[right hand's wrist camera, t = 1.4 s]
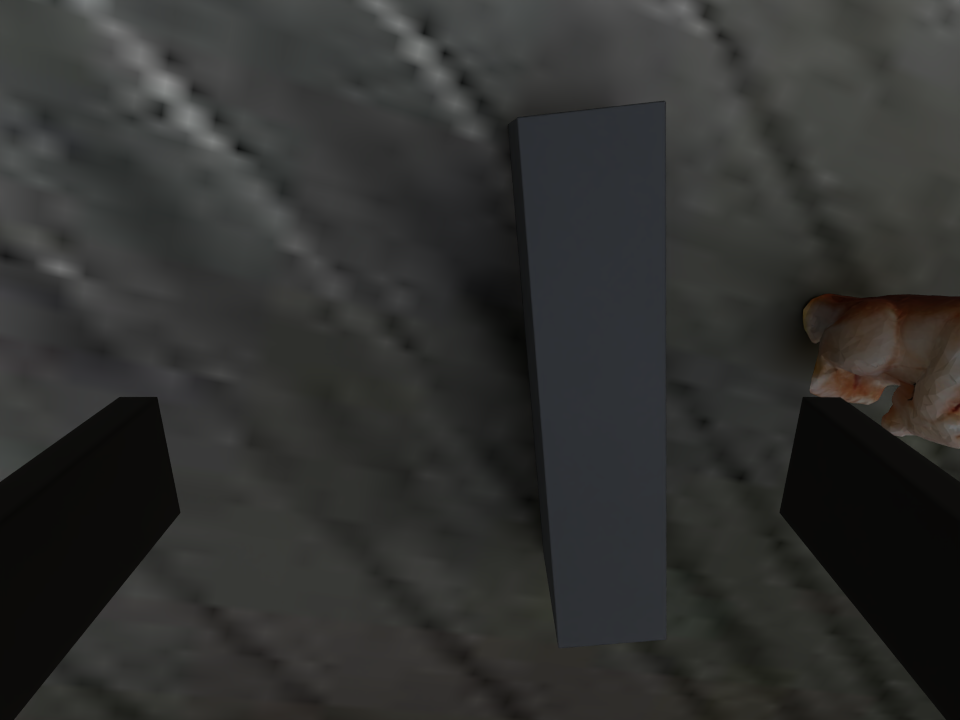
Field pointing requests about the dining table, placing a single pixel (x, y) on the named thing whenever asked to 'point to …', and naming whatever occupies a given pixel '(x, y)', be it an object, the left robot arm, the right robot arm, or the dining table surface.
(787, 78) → the dining table surface
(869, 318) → the figurine
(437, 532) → the dining table surface
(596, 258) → the bar
